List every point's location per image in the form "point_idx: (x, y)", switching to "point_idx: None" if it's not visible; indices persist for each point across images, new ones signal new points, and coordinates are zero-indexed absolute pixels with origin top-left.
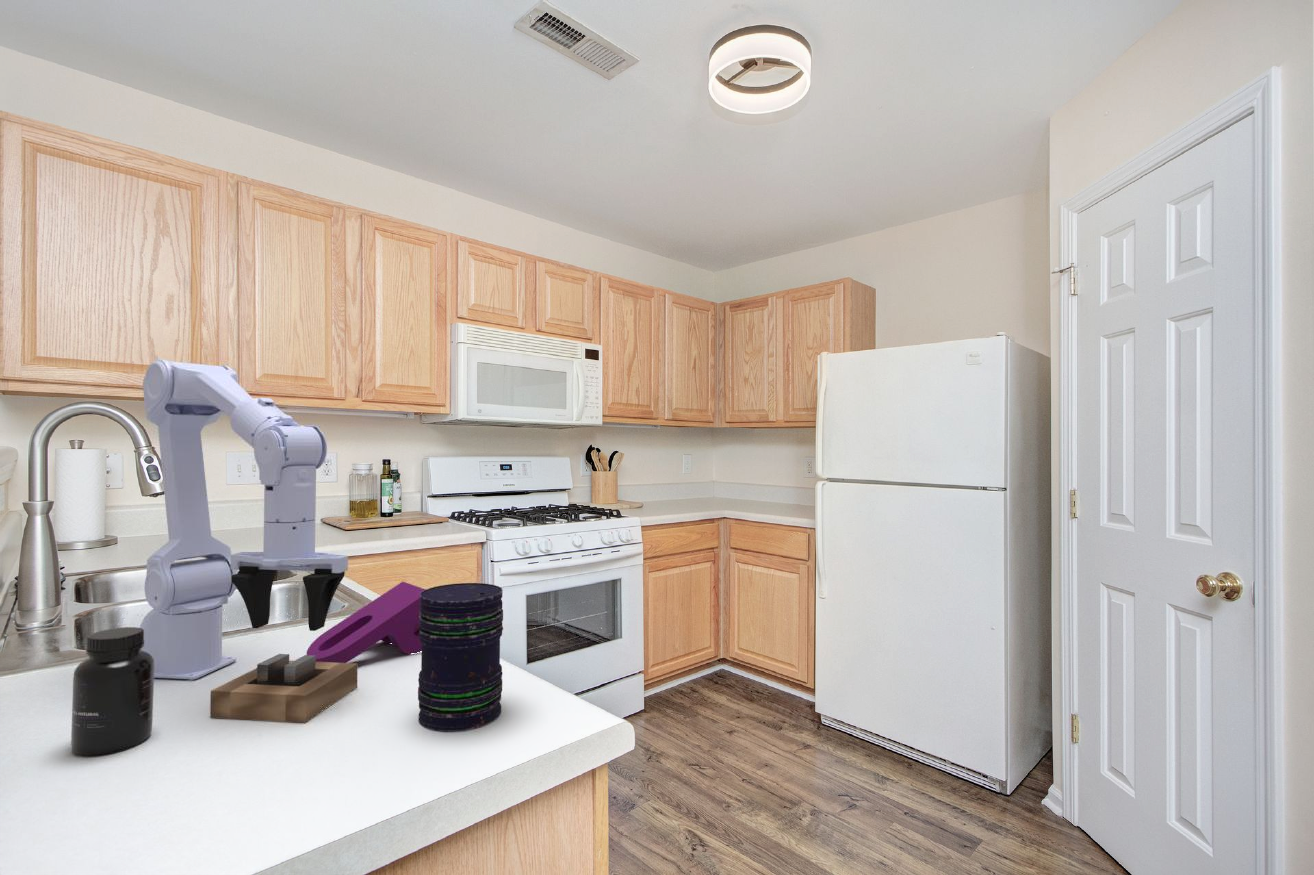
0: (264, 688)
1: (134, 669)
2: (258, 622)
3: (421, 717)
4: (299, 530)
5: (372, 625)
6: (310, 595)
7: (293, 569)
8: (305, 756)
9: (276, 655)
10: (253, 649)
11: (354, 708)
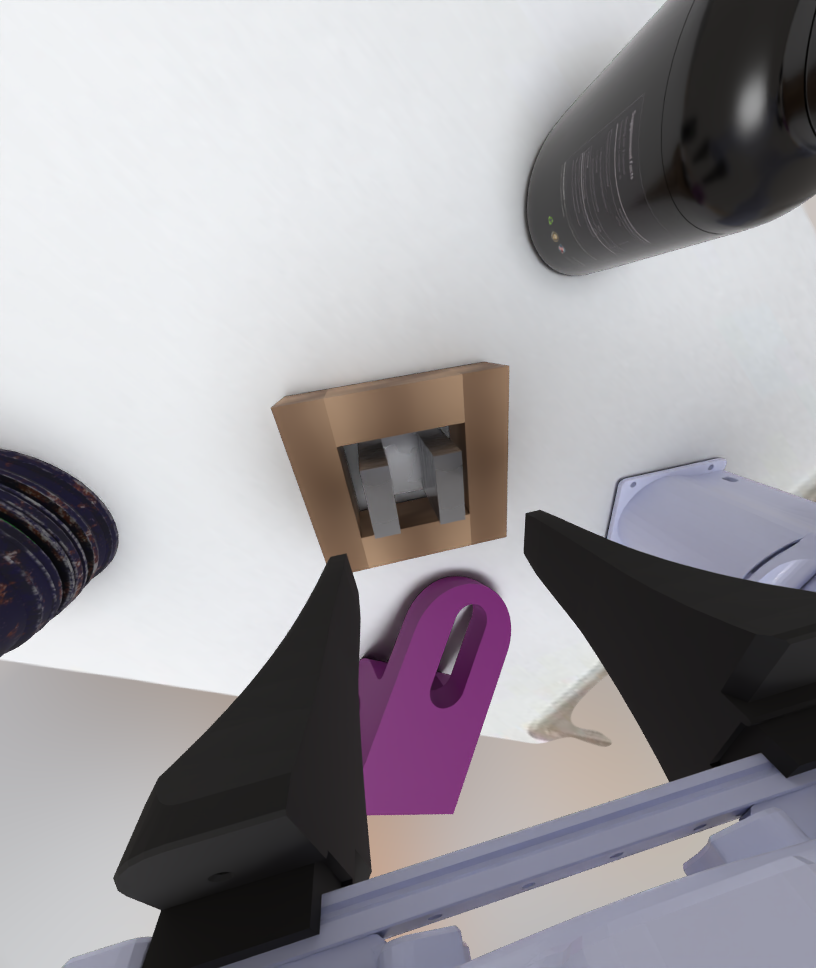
0: (403, 414)
1: (709, 8)
2: (535, 528)
3: (33, 470)
4: None
5: (411, 685)
6: (300, 667)
7: (514, 845)
8: (114, 245)
9: (463, 510)
10: None
11: (256, 479)
